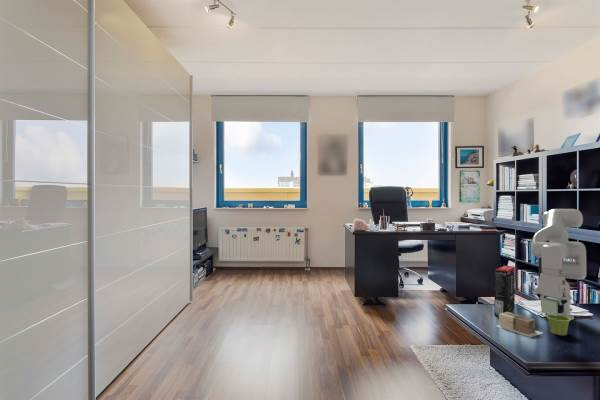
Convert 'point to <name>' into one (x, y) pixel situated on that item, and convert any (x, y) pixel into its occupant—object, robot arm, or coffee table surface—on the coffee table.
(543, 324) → the coffee table surface
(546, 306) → the sage block
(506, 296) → the graphics card box
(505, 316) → the maple base
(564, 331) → the plant pot
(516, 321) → the walnut cube
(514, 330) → the board
